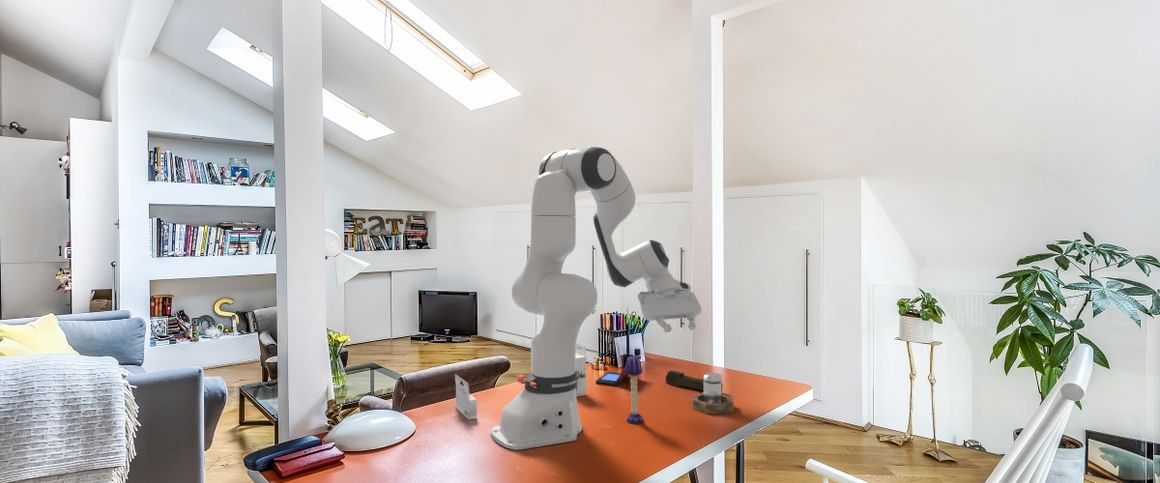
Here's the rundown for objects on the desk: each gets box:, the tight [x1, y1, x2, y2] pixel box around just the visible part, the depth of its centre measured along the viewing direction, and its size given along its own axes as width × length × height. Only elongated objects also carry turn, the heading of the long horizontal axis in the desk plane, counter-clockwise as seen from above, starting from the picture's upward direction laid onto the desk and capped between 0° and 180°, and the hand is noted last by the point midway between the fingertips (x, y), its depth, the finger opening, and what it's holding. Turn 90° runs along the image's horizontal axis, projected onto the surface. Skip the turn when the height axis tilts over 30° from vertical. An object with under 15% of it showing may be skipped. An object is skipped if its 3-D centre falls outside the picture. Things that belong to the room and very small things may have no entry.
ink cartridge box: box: [454, 373, 478, 421], centre depth 141 cm, size 2×11×10 cm, turn 32°
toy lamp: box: [624, 355, 644, 425], centre depth 135 cm, size 5×5×17 cm
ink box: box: [575, 342, 587, 398], centre depth 159 cm, size 8×5×15 cm, turn 26°
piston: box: [703, 372, 722, 404], centre depth 145 cm, size 5×5×9 cm
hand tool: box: [665, 370, 723, 394], centre depth 163 cm, size 19×4×5 cm, turn 48°
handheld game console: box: [595, 366, 630, 387], centre depth 171 cm, size 12×11×7 cm
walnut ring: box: [692, 391, 734, 415], centre depth 145 cm, size 11×11×2 cm
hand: (681, 330), depth 154 cm, fingers open, 8 cm apart
